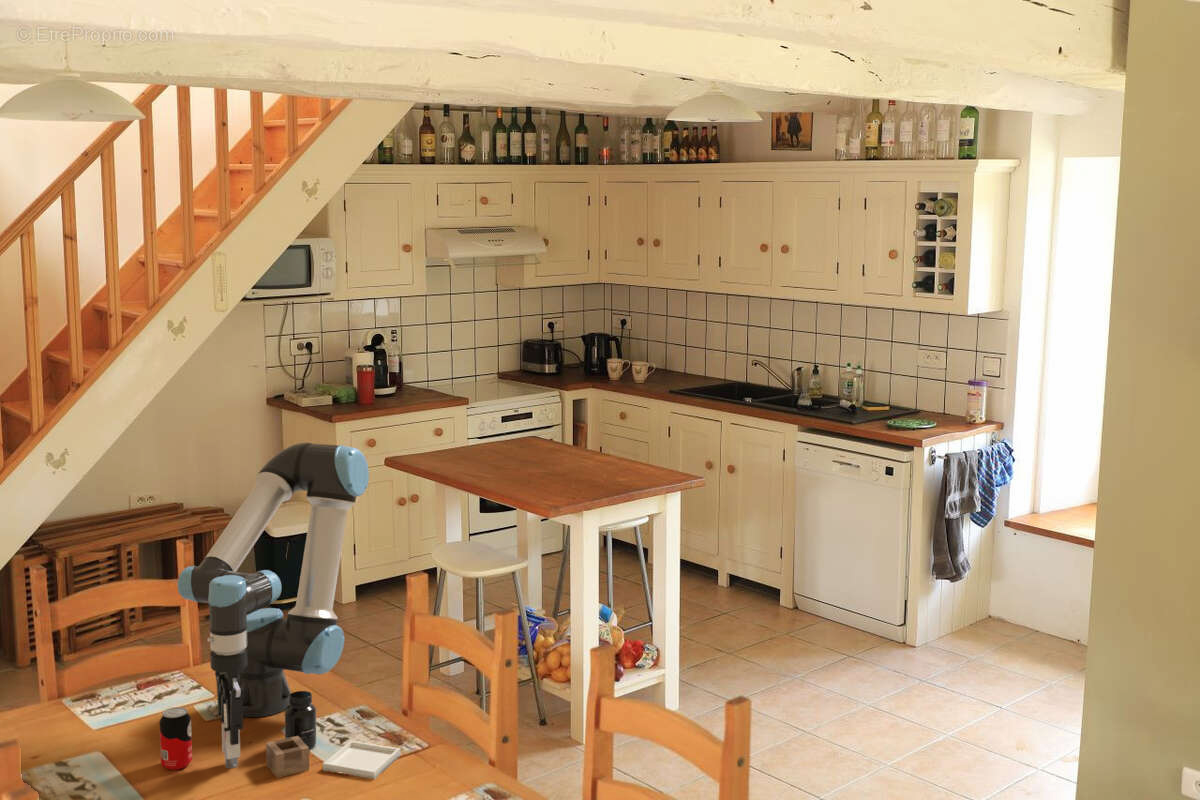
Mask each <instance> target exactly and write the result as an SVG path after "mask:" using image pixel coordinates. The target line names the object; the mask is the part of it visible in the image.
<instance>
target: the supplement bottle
mask: <svg viewBox="0 0 1200 800" xmlns="http://www.w3.org/2000/svg"><path fill="white" fill-rule="evenodd" d="M312 698H313V696H312V693H311V691H306V690H297V691H293V692H291V694H290V700H289V704H290V705H289V706H288V707H287V708H286V709H285V710H284V739H286V738H290V737H295V736H299V738H300V739H301V740H302V741H303V742H304V743H305V744H306V745H307V746H308V747H309V750H312V749H313V748H315V746H316V744H317V708H316V706H315V705H314V704H313V703H312V702H313V699H312Z"/></svg>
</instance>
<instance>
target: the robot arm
mask: <svg viewBox="0 0 1200 800" xmlns="http://www.w3.org/2000/svg"><path fill="white" fill-rule="evenodd" d="M369 472H370V471H369V465H368V461H367V459H366V457H365V455H364V454H363V452H362V451H361V450H359V449H358V448H356V447H351V446H346V445H336V444H323V443H322V444H321V443H312V442H299V443H296V444H292V445H290V446H288V447H287V448H286V447H285V448H284V449H282V450H281V451H279V452H278V453H277V454H275V455H274V456H273V457H272V458H270V459H269V460H268V461H267V462H266V463H265V464H264V465H263V467H262V468H261V469H260V470H259V472H258V473H257V475H256V476H255V478H254V486H253V488H252V489H251V491H250V492H249V494H248V495H247V496H246V498H245V500H244V501H243V502H242V503H241V505H240V507H239V508H238V510H237V511H236V512H235V514H234V515H233V516H232V518H231V520H229V523H228V524H227V525H226V527H225V528H224V530H223V532H222V533H221V534H220V535H219V537H218V539H217V540H216V541H215V543H213V545H212V547H211V548H210V550H209V552H208V553H207V554H206V555H205V557H204V558H203V560H202V561H201V563H200V564H199V566H198V565H193V566H187V567H186V568H184V569H183V570H181V572H180V573H179V577H178V579H177V591H178V593H179V595H180V596H181V597H182V598H183V599H185V600H186V601H188V600H189V601H191V602H196V603H206V604H208V611H209V612H208V613H209V637H207V642H209V643H210V645H209V646H210V648H209V649H210V650H211V651H210V653H209V655H210V656H209V657H210V662H209V663H210V669H211V670H212V671H213V672H214V676H215V680H216V681H215V682H216V697H217V699H216V700H217V712H218V713H217V715H218V717H219V718H220V722H221V749H222V750H221V752H222V754H224V755H225V734H224V731H225V732H226V753H227V759H232V758H236V757H238V758H240V757H241V730H243V729H244V718H256V717H257V718H258V717H259V718H260V717H267V716H271V715H272V716H273V715H275V714H276V715H277V714H279V713H282V712H283V711H284V712H285V710H286V708H287V707H288V706H289V705H290V704H289V700H290V694H291V693H292V691H291V689H290V686H289V683H288V679H287V678H286V675H285V671H284V670H286V671H292V672H297V673H298V672H299V673H304V674H305V675H308V674H309V675H310V674H314V675H323V674H327V673H329V672H330V671H331V670H332V669H333V668H334V667H335V665H337V663H338V662H339V660H340V658H341V656H342V654H343V650H344V645H345V634H344V631H343V628H341V627H340V626H339V625H337V624H338V616H337V615H336V614H335V611H334V610H333V609H334V602H335V596H336V595H335V594H336V589H337V582H338V576H339V569H340V563H341V556H342V550H343V549H342V548H343V542H344V538H345V537H344V536H345V530H346V523H347V516H348V512H349V510H350V509H351V508H352V507H353V506H354V505H355V504H356V500H357V497H359V496H362V495H364V493H365V492H366V489H367V487H368V485H369V479H370V473H369ZM299 491H306V496H305V497H306V499H307V501H308V502H309V504H310V506H311V507H310V513H309V520H308V524H307V525H308V526H307V533H306V538H305V539H306V540H305V544H304V551H303V558H302V562H301V563H302V564H301V571H300V576H299V584H298V588H297V589H298V590H297V595H296V596H297V597H296V603H295V606H294V607H292V608H291V609H290V610H288V612H287V617H286V618H284V613H283V611H282V610H281V609H280V608H273V607H268V606H270V605H271V604H272V603H274V602H275V601H277V600H278V599H279V597H280V596H281V593H282V582H281V578H280V577H279V576H278V575H277V574H276V573H275V572H273V571H272V570H269V569H263V570H258V571H256V572H254V573H247V572H241V571H240V572H238V569H239V568H240V566H241V565H242V564H243V562H244V561H245V559H246V558H247V556H248V555H249V553H250V552H251V550H252V548H254V546H255V545H256V542H257V541H258V540H259V538H260V537H261V535H262V533H263V532H265V531H264V530H265V529H266V528H267V526H268V524H269V523H270V522H271V520H272V519H273V517H274V516H275V514H276V513H277V511H278V509H279V508H280V506H281V505H282V503H283V502H287V501H289V500H291V497H292V496H293V495H294V494H295V493H296V492H299ZM266 607H268V608H266ZM225 702H226V710H227V728H224V703H225Z"/></svg>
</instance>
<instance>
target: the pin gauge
mask: <svg viewBox="0 0 1200 800" xmlns="http://www.w3.org/2000/svg"><path fill="white" fill-rule="evenodd" d="M224 728H227V710H226V702H225V703H224ZM224 734H225V753H224V762H225V768H227V769H233V768H237V767H238V765H239V757H236V758H232V759H227V753H226V732H225V731H224Z"/></svg>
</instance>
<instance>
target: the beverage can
mask: <svg viewBox="0 0 1200 800" xmlns="http://www.w3.org/2000/svg"><path fill="white" fill-rule="evenodd" d="M159 742H160V743H159V747H160V749H159V750H160V764H161V766H162V767H163V768H165V769H167V770H169V771H177V770H182V769H185V768H186V767H188V766H189V764H190V763H191V762H192V760H193V748H192V747H193V745H192V719H191V715H190V714H189V713H188V709H187V708H186V707H182V706H181V707H180V706H178V707H177V706H176V707H170V708H167V709H165V710H163V711H162V715H161V717H160V719H159Z"/></svg>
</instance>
